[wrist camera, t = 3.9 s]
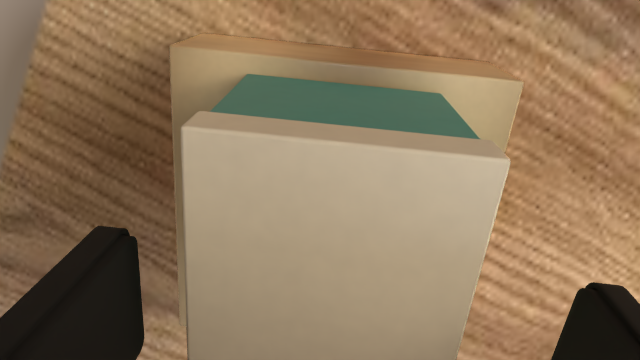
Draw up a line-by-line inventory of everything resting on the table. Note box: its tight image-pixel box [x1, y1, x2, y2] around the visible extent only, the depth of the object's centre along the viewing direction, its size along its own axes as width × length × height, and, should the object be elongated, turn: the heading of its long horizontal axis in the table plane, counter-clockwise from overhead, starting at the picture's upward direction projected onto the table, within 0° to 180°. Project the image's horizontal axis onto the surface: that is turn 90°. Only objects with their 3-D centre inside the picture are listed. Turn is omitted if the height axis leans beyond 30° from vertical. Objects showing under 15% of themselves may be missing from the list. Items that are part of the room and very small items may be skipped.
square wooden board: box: [169, 33, 524, 326], centre depth 15 cm, size 9×9×3 cm
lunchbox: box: [181, 74, 511, 360], centre depth 11 cm, size 8×5×5 cm, turn 175°
